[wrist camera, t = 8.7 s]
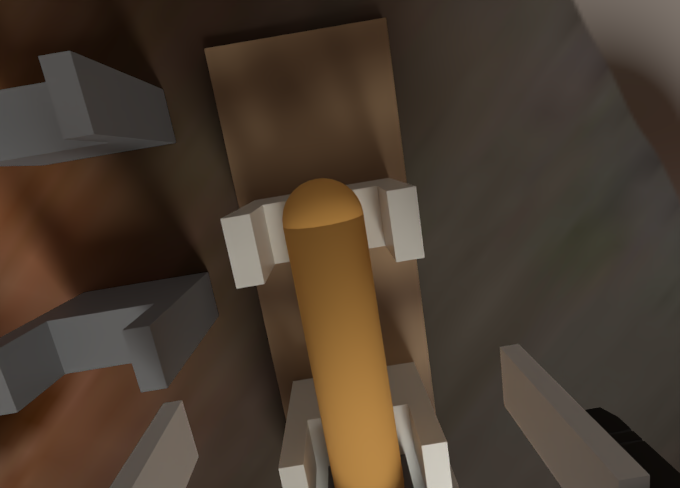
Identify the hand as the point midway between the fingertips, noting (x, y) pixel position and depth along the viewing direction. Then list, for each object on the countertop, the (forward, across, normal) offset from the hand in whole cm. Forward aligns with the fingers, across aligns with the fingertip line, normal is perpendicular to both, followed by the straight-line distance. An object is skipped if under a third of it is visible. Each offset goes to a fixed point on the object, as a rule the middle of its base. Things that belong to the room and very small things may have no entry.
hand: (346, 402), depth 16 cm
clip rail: (+10, 0, +1) cm, 10 cm away
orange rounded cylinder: (+5, 0, -1) cm, 5 cm away
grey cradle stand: (+10, -12, +8) cm, 17 cm away
